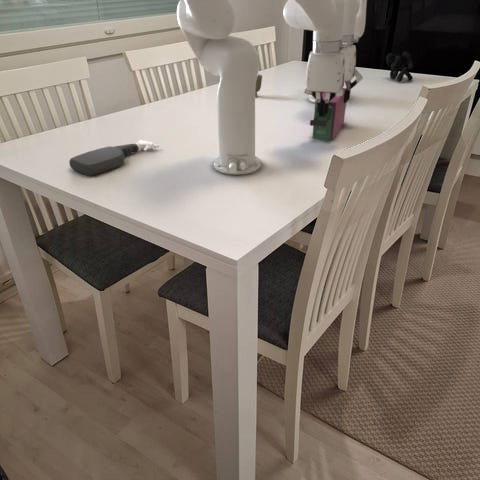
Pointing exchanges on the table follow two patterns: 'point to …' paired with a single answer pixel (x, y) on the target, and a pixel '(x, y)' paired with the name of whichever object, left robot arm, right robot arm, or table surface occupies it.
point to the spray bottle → (106, 157)
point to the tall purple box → (336, 113)
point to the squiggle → (399, 66)
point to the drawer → (322, 124)
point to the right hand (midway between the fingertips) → (334, 100)
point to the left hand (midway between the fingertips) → (322, 115)
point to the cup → (258, 83)
